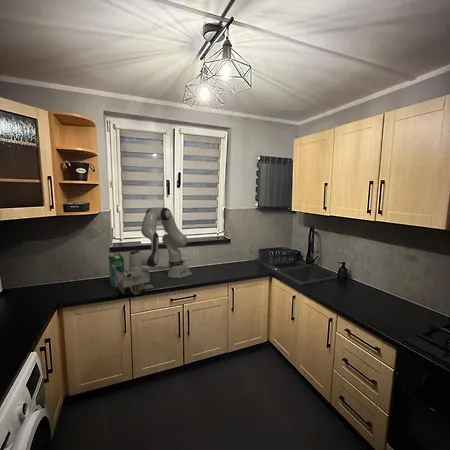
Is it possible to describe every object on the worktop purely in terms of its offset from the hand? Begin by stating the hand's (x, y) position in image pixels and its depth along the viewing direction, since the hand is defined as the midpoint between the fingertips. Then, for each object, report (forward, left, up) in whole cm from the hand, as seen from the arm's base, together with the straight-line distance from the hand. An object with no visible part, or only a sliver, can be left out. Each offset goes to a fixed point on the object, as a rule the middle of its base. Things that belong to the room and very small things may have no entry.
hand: (136, 290), depth 191 cm
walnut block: (0, 0, -2) cm, 2 cm away
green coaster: (-12, -11, -3) cm, 16 cm away
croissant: (0, -14, -3) cm, 14 cm away
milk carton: (+5, -31, -4) cm, 31 cm away
